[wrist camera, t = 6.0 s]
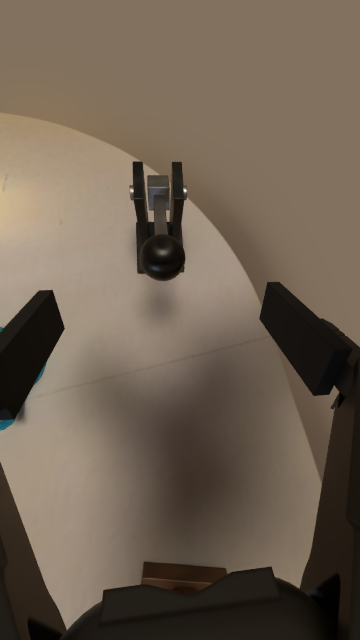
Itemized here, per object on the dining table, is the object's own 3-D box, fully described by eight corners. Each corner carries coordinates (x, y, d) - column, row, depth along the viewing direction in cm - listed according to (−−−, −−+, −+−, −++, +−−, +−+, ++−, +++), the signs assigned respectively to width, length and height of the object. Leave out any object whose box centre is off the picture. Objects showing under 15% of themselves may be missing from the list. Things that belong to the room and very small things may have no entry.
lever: (185, 289, 19) (189, 252, 16) (141, 290, 19) (136, 253, 16) (173, 203, 28) (174, 169, 25) (143, 203, 27) (140, 168, 25)
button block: (225, 568, 29) (235, 599, 25) (220, 652, 27) (230, 700, 23) (143, 561, 28) (140, 592, 24) (133, 646, 26) (128, 694, 23)
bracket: (183, 272, 36) (195, 214, 23) (138, 273, 36) (123, 215, 22) (180, 226, 38) (190, 147, 25) (136, 226, 38) (122, 146, 24)
